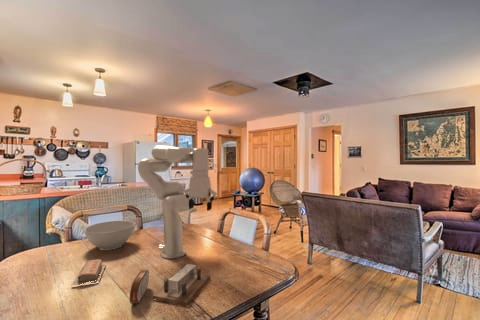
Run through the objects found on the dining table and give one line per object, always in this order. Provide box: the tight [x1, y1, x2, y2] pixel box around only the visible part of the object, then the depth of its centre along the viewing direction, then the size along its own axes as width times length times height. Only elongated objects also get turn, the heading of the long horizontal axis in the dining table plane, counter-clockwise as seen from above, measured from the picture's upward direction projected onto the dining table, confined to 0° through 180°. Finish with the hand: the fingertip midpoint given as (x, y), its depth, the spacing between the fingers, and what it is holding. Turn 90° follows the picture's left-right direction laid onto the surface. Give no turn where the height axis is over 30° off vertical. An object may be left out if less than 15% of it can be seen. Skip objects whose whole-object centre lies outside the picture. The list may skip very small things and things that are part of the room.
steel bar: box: [168, 263, 197, 295], centre depth 97 cm, size 4×14×5 cm, turn 162°
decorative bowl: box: [83, 219, 136, 251], centre depth 145 cm, size 27×27×12 cm
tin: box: [129, 269, 150, 304], centre depth 92 cm, size 15×3×8 cm, turn 5°
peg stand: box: [152, 265, 211, 307], centre depth 98 cm, size 14×20×6 cm
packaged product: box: [70, 258, 107, 286], centre depth 109 cm, size 18×5×10 cm
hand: (200, 209), depth 119 cm, fingers open, 9 cm apart
